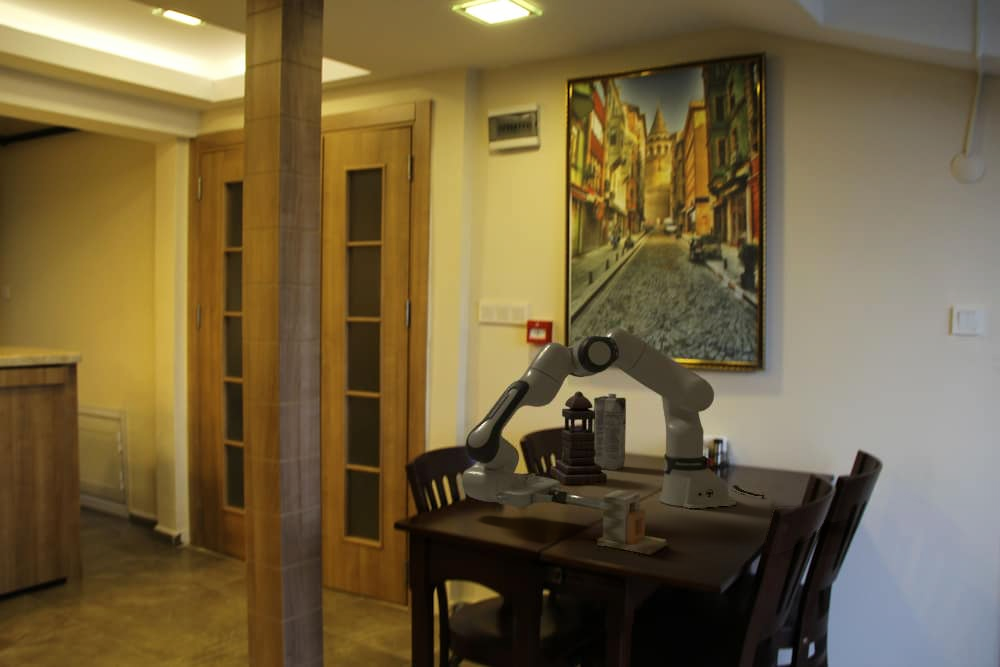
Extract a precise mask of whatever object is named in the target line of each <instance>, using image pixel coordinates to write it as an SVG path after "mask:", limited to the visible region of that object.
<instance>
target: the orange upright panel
mask: <svg viewBox="0 0 1000 667" xmlns="http://www.w3.org/2000/svg"><path fill="white" fill-rule="evenodd" d="M645 520H646V510H645V509H641V508H639V509H638V510H636V511H634V512H632V513H630V514H627V542H626V543H629V544H634V543H636V542H637V541H639V540H641V539H643V538H644V536H645V533H646V532H645V531H646V530H645V524H646V521H645ZM635 524H636V532H635Z"/></svg>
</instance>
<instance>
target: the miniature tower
mask: <svg viewBox="0 0 1000 667" xmlns="http://www.w3.org/2000/svg"><path fill="white" fill-rule="evenodd" d="M564 406H565V407H568V408H562V409H561V417H562V418H564V429H561V439H562V440H561V441H562V443H561V445H562V451H561V452H562V454H561V457H562V458H561V459H556V460H555V465H554V466H553V465H551V466H550V468H549V469H550V470H549V471H550V472H549V473H550V476H551V475H552V478H554V479H555V480H558V481H559V482H560V483H561V485H563V486H576V485H575V484H584V485H596V484H595V483H598V484H599V483H605V484H607V482H608V481H607V479H608V478H607V477H608V475H607V474H606V473H605V472H603V471H602V469H601V466H600V465H598V464H596V463H595V458H594V457H595V451H596V450H595V442H594V440H595V433H594V432H593V423H594V419H595V411H594V409H593V408H594V405H593V404H592V403H591V401H590V400H589V398H587V397H586V396H585V395H584V394H583V392H582V391H580V390H579V391H576V392H575V393H574V395H572V396H570V397H569V398H568V399H567V400H566V401H565V404H564ZM577 420H579V421H581V428H579V429H578V428H577V429H576V428H575V427H576V426H575V424H576V423H575V422H576V421H577ZM572 484H573V485H572Z"/></svg>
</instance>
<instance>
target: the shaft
mask: <svg viewBox="0 0 1000 667" xmlns="http://www.w3.org/2000/svg"><path fill="white" fill-rule="evenodd" d="M548 495H553V496H554V501H553V502H552V503H555V504H560V505H561V504H562V505H569V506H576V507H582V508H587V509H592V510H593V509H594V510H597V511H603V505H604V498H599V497H593V496H586V495H582V494H575V493H570V492H567V491H566V492H561V491H555V490H550V491H549V492H548Z"/></svg>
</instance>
